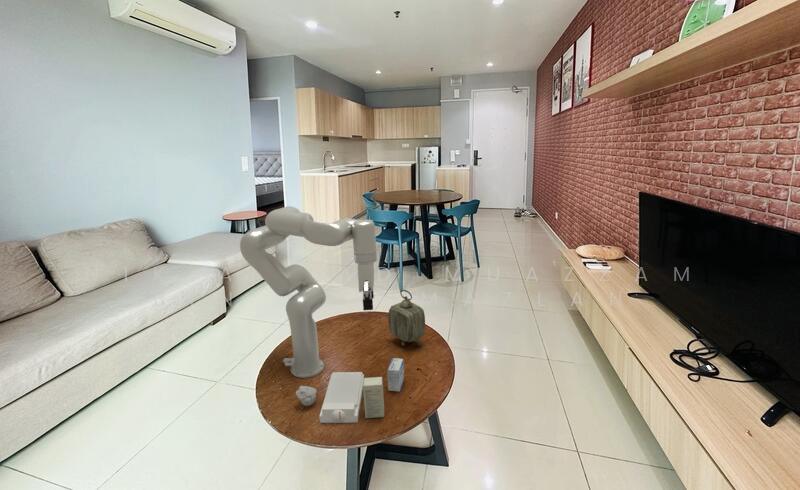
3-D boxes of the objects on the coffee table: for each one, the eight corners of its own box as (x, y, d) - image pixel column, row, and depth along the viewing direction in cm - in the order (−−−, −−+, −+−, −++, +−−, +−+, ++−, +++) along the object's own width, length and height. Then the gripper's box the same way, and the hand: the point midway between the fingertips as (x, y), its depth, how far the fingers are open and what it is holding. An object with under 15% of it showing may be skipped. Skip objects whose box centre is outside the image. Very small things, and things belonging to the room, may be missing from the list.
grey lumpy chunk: (295, 401, 131) (293, 384, 129) (316, 396, 134) (314, 378, 132) (298, 412, 126) (296, 394, 124) (319, 406, 129) (318, 388, 127)
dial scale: (319, 423, 121) (318, 410, 119) (331, 380, 142) (331, 368, 141) (357, 423, 121) (356, 409, 119) (364, 380, 142) (363, 368, 141)
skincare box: (384, 408, 127) (383, 376, 124) (384, 417, 123) (383, 384, 120) (365, 409, 127) (363, 377, 124) (364, 418, 123) (362, 385, 120)
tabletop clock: (425, 346, 165) (425, 292, 158) (410, 354, 159) (409, 298, 153) (402, 334, 175) (401, 283, 169) (387, 341, 170) (386, 288, 163)
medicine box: (400, 392, 135) (399, 371, 133) (387, 391, 136) (387, 369, 134) (404, 379, 143) (404, 358, 140) (392, 377, 144) (392, 357, 141)
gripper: (356, 250, 137) (359, 295, 141) (352, 265, 120) (356, 315, 124) (377, 249, 137) (379, 293, 141) (376, 263, 120) (379, 313, 125)
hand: (368, 303), depth 133 cm, fingers open, 9 cm apart
